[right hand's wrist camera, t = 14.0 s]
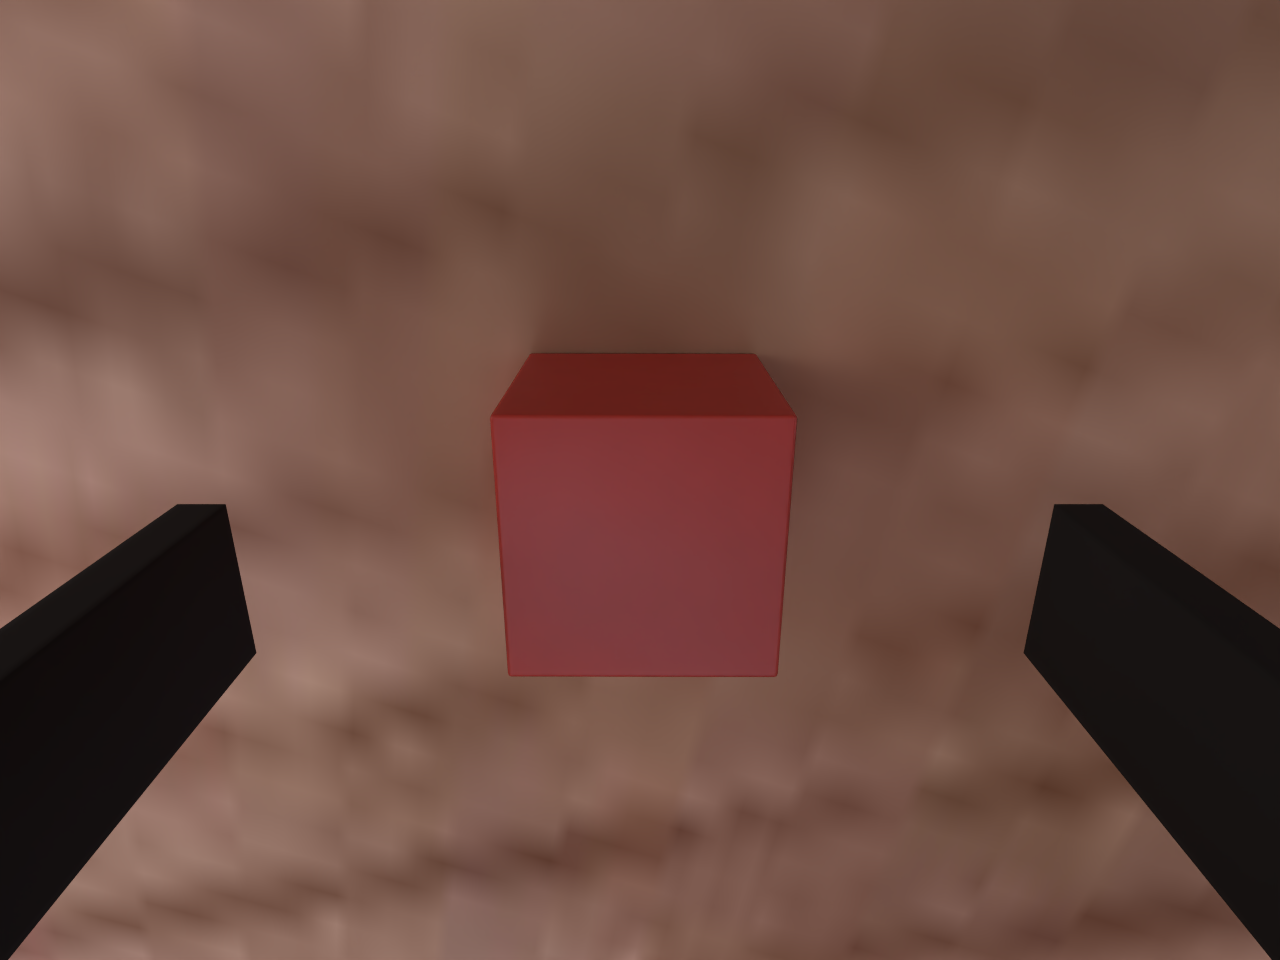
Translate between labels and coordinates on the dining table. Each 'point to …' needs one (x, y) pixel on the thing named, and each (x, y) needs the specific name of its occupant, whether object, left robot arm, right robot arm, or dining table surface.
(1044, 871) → the dining table surface
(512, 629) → the block
